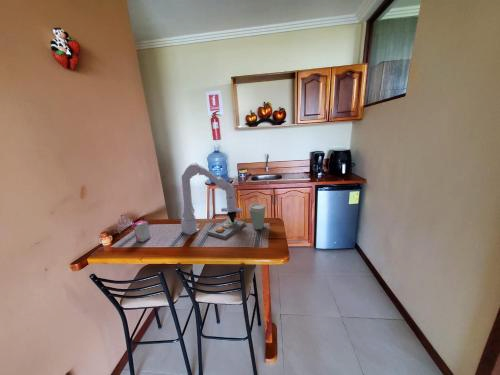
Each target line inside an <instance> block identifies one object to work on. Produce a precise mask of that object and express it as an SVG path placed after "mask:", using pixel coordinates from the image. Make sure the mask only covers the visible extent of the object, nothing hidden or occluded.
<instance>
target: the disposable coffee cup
mask: <svg viewBox="0 0 500 375" xmlns="http://www.w3.org/2000/svg"><path fill="white" fill-rule="evenodd" d="M248 211H249V216H250V218H251V219H250V220H251V223H252V227H253V229H255V230H262V229H263V228H264V225H265V214H266V205H264V204H261V203H252V204H250V205H249V207H248Z"/></svg>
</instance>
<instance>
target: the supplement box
mask: <svg viewBox="0 0 500 375" xmlns="http://www.w3.org/2000/svg"><path fill="white" fill-rule="evenodd" d="M132 225H133V226H132V227H133V231H134V235H135V240H136V242H139V243H145V242H146V240H147V241H148V240H150V239H151V233H150V227H149V223H148V221H147V220H139V221H136V222H134V223H133V224H132ZM144 241H145V242H144Z"/></svg>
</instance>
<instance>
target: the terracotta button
mask: <svg viewBox="0 0 500 375" xmlns="http://www.w3.org/2000/svg"><path fill="white" fill-rule="evenodd" d="M222 232H223V227H218V228H217V233H222Z"/></svg>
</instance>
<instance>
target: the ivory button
mask: <svg viewBox="0 0 500 375" xmlns="http://www.w3.org/2000/svg"><path fill="white" fill-rule="evenodd" d="M224 228H226V229H228V228H230V224H229V223H225V224H224Z"/></svg>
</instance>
